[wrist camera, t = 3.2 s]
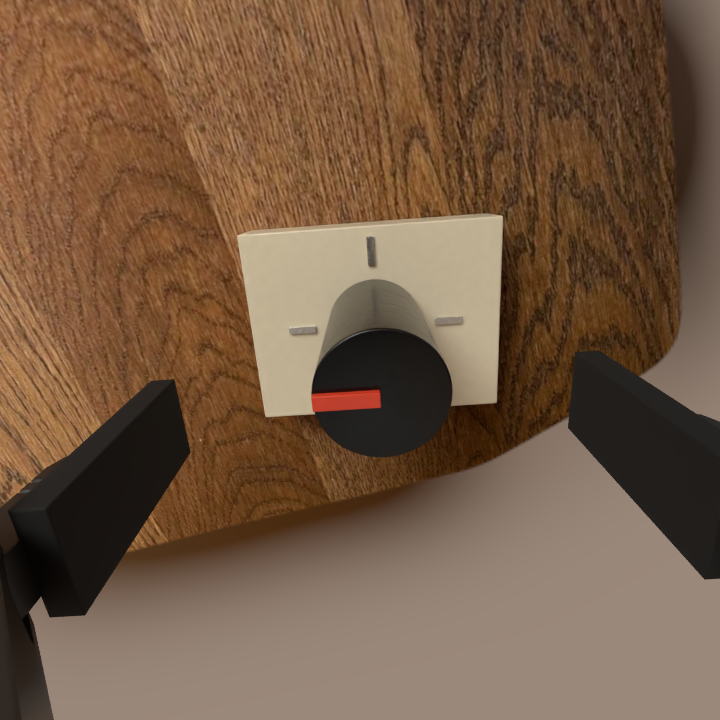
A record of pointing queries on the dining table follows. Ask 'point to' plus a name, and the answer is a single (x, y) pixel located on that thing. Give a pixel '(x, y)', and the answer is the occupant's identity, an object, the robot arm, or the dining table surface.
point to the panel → (365, 262)
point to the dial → (380, 373)
